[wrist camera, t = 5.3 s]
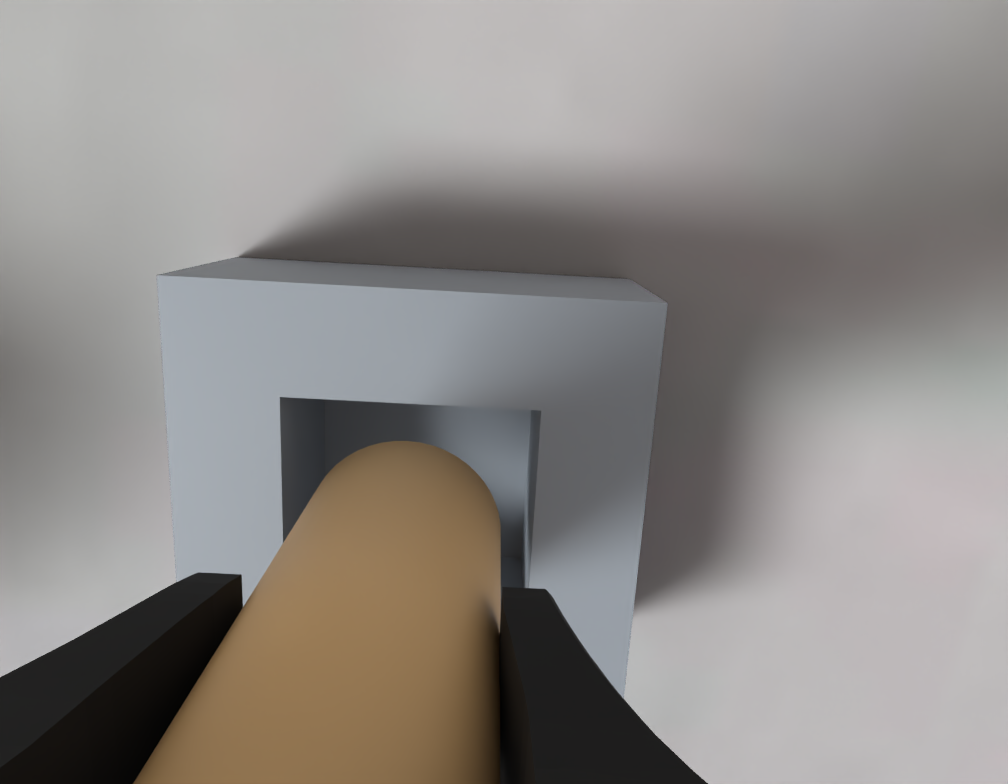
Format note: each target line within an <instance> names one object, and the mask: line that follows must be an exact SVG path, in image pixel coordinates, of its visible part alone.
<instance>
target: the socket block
mask: <svg viewBox="0 0 1008 784" xmlns="http://www.w3.org/2000/svg"><path fill="white" fill-rule="evenodd" d="M157 288H158V304H159V319H160V335H161V350H162V366H163V382H164V397H165V413H166V428H167V444H168V459H169V475H170V490H171V506H172V521H173V537H174V552H175V568H176V582H178V581H180V580H182V579H184V578H186V577H189V576H191V575H193V574H195V573H198V572H201V573H222V574H242V596H243V607H244V605H245V603H246V602H247V600H248V599H249V597H250V595H251V594H252V592H253V591H254V589H255V587H256V586H257V584H258V583H259V581H260V579H261V578H262V576H263V575H264V573H265V571H266V570H267V568H268V567H269V565H270V563H271V562H272V560H273V559H274V557H275V555H276V554H277V552H278V551H279V549H280V547H281V546H282V544H283V543H284V541H285V539H286V538H287V536H288V535H289V533H290V531H291V530H292V528H293V527H294V525H295V523H296V522H297V520H298V518H299V517H300V515H301V514H302V512H303V510H304V509H305V507H306V506H307V504H308V502H309V501H310V499H311V498H312V496H313V494H314V493H315V491H316V490H317V488H318V486H319V485H320V483H321V482H322V480H323V479H324V478H325V476H326V475H327V474H328V473H329V471H330V470H331V469H332V468H333V467H334V466H335V465H336V464H338V463H339V462H340V461H342V460H343V459H344V458H346V457H347V456H349V455H351V454H352V453H354V452H356V451H358V450H360V449H363V448H365V447H367V446H371V445H374V444H378V443H382V442H390V441H412V442H420V443H425V444H429V445H433V446H435V447H438V448H441V449H443V450H446V451H447V452H449V453H451V454H453V455H455V456H457V457H458V458H460V459H461V460H462V461H464V462H465V463H467V464H468V465H469V466H470V467H471V468H472V469H473V470H474V471H475V472H476V473H477V474H478V475H479V476H480V477H481V479H482V480H483V481H484V482H485V484H486V485H487V487H488V489H489V490H490V492H491V494H492V496H493V498H494V501H495V503H496V506H497V509H498V513H499V518H500V525H501V601H502V587H516V588H537V589H546V590H547V591H548V592H549V593H550V594H551V595H552V597H553V598H554V600H555V602H556V604H557V605H558V607H559V609H560V611H561V612H562V614H563V616H564V617H565V619H566V620H567V622H568V624H569V625H570V627H571V628H572V630H573V631H574V633H575V634H576V636H577V637H578V639H579V640H580V642H581V643H582V645H583V646H584V648H585V649H586V651H587V652H588V653H589V655H590V656H591V657H592V659H593V660H594V661H595V663H596V664H597V665H598V667H599V668H600V669H601V671H602V672H603V673H604V675H605V676H606V678H607V679H608V680H609V681H610V683H611V684H612V685H613V686H614V688H615V689H616V690H617V691H618V693H619V694H620V695H621V696H622V698H623V699H624V690H625V681H626V672H627V663H628V654H629V645H630V637H631V628H632V619H633V610H634V601H635V592H636V583H637V574H638V565H639V556H640V547H641V538H642V529H643V520H644V511H645V502H646V494H647V485H648V476H649V467H650V458H651V449H652V440H653V431H654V422H655V413H656V404H657V395H658V386H659V377H660V368H661V359H662V350H663V342H664V333H665V324H666V315H667V306H668V303H667V302H665V301H664V300H662V299H660V298H659V297H657V296H656V295H654V294H653V293H651V292H650V291H648V290H646V289H645V288H643V287H642V286H640V285H639V284H637V283H635V282H634V281H632V280H631V279H620V278H602V277H584V276H566V275H548V274H530V273H512V272H494V271H476V270H458V269H439V268H421V267H403V266H385V265H367V264H349V263H331V262H313V261H295V260H277V259H258V258H240V257H235V258H231V259H226V260H222V261H217V262H213V263H208V264H204V265H200V266H195V267H191V268H186V269H182V270H177V271H173V272H169V273H164V274H160V275H157Z"/></svg>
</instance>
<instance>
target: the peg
mask: <svg viewBox="0 0 1008 784" xmlns="http://www.w3.org/2000/svg"><path fill="white" fill-rule="evenodd" d="M500 618H501V525H500V518H499V513H498V509H497V506H496V503H495V501H494V498H493V496H492V494H491V492H490V490H489V489H488V487H487V485H486V484H485V482H484V481H483V480H482V479H481V477H480V476H479V475H478V474H477V473H476V472H475V471H474V470H473V469H472V468H471V467H470V466H469V465H468V464H467V463H465V462H464V461H462V460H461V459H460V458H458V457H457V456H455V455H453V454H451V453H449V452H447V451H446V450H443V449H441V448H438V447H435V446H433V445H429V444H425V443H420V442H412V441H390V442H382V443H378V444H374V445H371V446H367V447H365V448H363V449H360V450H358V451H356V452H354V453H352V454H351V455H349V456H347V457H346V458H344V459H343V460H342V461H340V462H339V463H338V464H336V465H335V466H334V467H333V468H332V469H331V470H330V471H329V473H328V474H327V475H326V476H325V478H324V479H323V480H322V482H321V483H320V485H319V486H318V488H317V490H316V491H315V493H314V494H313V496H312V498H311V499H310V501H309V502H308V504H307V506H306V507H305V509H304V510H303V512H302V514H301V515H300V517H299V518H298V520H297V522H296V523H295V525H294V527H293V528H292V530H291V531H290V533H289V535H288V536H287V538H286V539H285V541H284V543H283V544H282V546H281V547H280V549H279V551H278V552H277V554H276V555H275V557H274V559H273V560H272V562H271V563H270V565H269V567H268V568H267V570H266V571H265V573H264V575H263V576H262V578H261V579H260V581H259V583H258V584H257V586H256V587H255V589H254V591H253V592H252V594H251V595H250V597H249V599H248V600H247V602H246V603H245V605H244V607H243V608H242V610H241V611H240V613H239V615H238V616H237V618H236V619H235V621H234V623H233V624H232V626H231V627H230V629H229V631H228V632H227V634H226V636H225V637H224V639H223V640H222V642H221V644H220V645H219V647H218V648H217V650H216V652H215V653H214V655H213V656H212V658H211V660H210V661H209V663H208V664H207V666H206V668H205V669H204V671H203V672H202V674H201V676H200V677H199V679H198V680H197V682H196V684H195V685H194V687H193V688H192V690H191V692H190V693H189V695H188V696H187V698H186V700H185V701H184V703H183V704H182V706H181V708H180V709H179V711H178V712H177V714H176V716H175V717H174V719H173V720H172V722H171V724H170V725H169V727H168V728H167V730H166V732H165V733H164V735H163V736H162V738H161V740H160V741H159V743H158V745H157V746H156V748H155V749H154V751H153V753H152V754H151V756H150V757H149V759H148V761H147V762H146V764H145V765H144V767H143V769H142V770H141V772H140V773H139V775H138V777H137V778H136V780H135V781H134V783H133V784H500V683H499V639H500Z"/></svg>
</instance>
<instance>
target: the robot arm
mask: <svg viewBox="0 0 1008 784" xmlns="http://www.w3.org/2000/svg"><path fill="white" fill-rule="evenodd" d="M242 608H243V596H242V574H222V573H201V572H198V573H195V574H193V575H191V576H189V577H186V578H184V579H182V580H180V581H178V582H176V583H174V584H173V585H171V586H169V587H167V588H165V589H163V590H161V591H160V592H158V593H156V594H154V595H152V596H151V597H149V598H147V599H145V600H144V601H142V602H140V603H138V604H137V605H135V606H133V607H131V608H129V609H128V610H126V611H124V612H122V613H121V614H119V615H117V616H115V617H113V618H112V619H110V620H108V621H106V622H104V623H103V624H101V625H99V626H97V627H95V628H94V629H92V630H90V631H88V632H86V633H85V634H83V635H81V636H79V637H78V638H76V639H74V640H72V641H70V642H68V643H66V644H64V645H62V646H61V647H59V648H57V649H55V650H53V651H51V652H49V653H47V654H45V655H43V656H41V657H39V658H37V659H35V660H33V661H31V662H29V663H27V664H25V665H24V666H22V667H20V668H18V669H16V670H14V671H12V672H10V673H8V674H6V675H4V676H2V677H0V784H133V783H134V781H135V780H136V778H137V777H138V775H139V773H140V772H141V770H142V769H143V767H144V765H145V764H146V762H147V761H148V759H149V757H150V756H151V754H152V753H153V751H154V749H155V748H156V746H157V745H158V743H159V741H160V740H161V738H162V736H163V735H164V733H165V732H166V730H167V728H168V727H169V725H170V724H171V722H172V720H173V719H174V717H175V716H176V714H177V712H178V711H179V709H180V708H181V706H182V704H183V703H184V701H185V700H186V698H187V696H188V695H189V693H190V692H191V690H192V688H193V687H194V685H195V684H196V682H197V680H198V679H199V677H200V676H201V674H202V672H203V671H204V669H205V668H206V666H207V664H208V663H209V661H210V660H211V658H212V656H213V655H214V653H215V652H216V650H217V648H218V647H219V645H220V644H221V642H222V640H223V639H224V637H225V636H226V634H227V632H228V631H229V629H230V627H231V626H232V624H233V623H234V621H235V619H236V618H237V616H238V615H239V613H240V611H241V610H242ZM499 683H500V784H708V783H706V782H705V781H704V780H703V779H702V778H701V777H699V776H698V775H697V774H696V773H695V772H694V771H693V770H692V769H690V768H689V767H688V766H687V765H686V764H685V763H684V762H683V761H682V760H681V759H680V758H679V757H678V756H677V755H676V754H675V753H674V752H673V751H672V750H671V749H670V748H668V747H667V746H666V745H665V744H664V743H663V742H662V741H661V740H660V739H659V738H658V737H657V736H656V735H655V734H654V733H653V732H652V731H651V730H650V728H649V727H648V726H647V725H646V724H645V723H644V722H643V721H642V720H641V718H640V717H639V716H638V715H637V714H636V713H635V712H634V710H633V709H632V708H631V707H630V706H629V705H628V703H627V702H626V701H625V700H624V699H623V698H622V696H621V695H620V694H619V693H618V691H617V690H616V689H615V688H614V686H613V685H612V684H611V683H610V681H609V680H608V679H607V678H606V676H605V675H604V673H603V672H602V671H601V669H600V668H599V667H598V665H597V664H596V663H595V661H594V660H593V659H592V657H591V656H590V655H589V653H588V652H587V651H586V649H585V648H584V646H583V645H582V643H581V642H580V640H579V639H578V637H577V636H576V634H575V633H574V631H573V630H572V628H571V627H570V625H569V624H568V622H567V620H566V619H565V617H564V616H563V614H562V612H561V611H560V609H559V607H558V605H557V604H556V602H555V600H554V598H553V597H552V595H551V594H550V593H549V592H548V591H547V590H546V589H537V588H516V587H502V601H501V618H500V639H499Z"/></svg>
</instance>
